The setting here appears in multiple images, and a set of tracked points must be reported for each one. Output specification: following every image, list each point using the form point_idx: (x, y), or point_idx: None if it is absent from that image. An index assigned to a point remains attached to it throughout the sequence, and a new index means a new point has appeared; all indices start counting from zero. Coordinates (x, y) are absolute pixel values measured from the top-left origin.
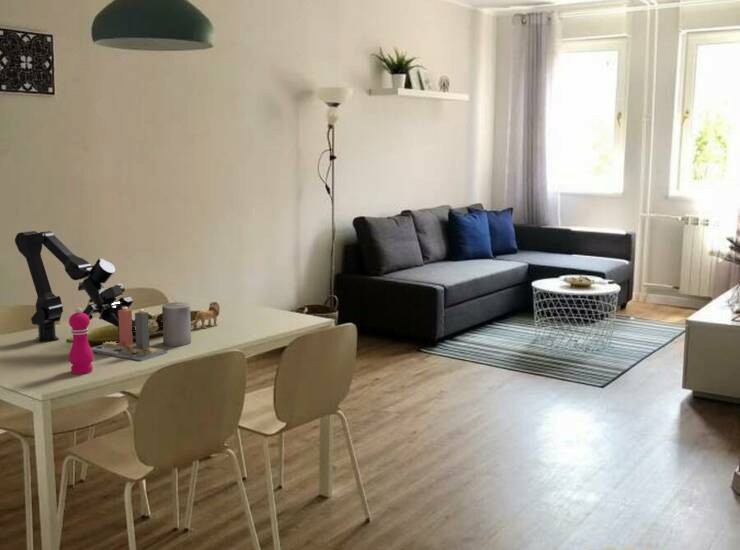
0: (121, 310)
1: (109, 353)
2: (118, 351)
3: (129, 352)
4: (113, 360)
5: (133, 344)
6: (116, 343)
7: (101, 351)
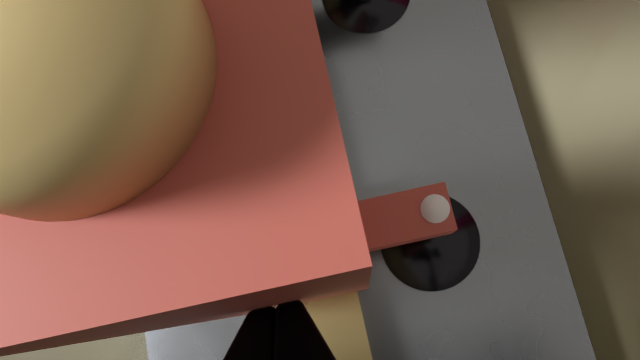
0: (228, 147)
1: (548, 219)
2: (452, 182)
3: (389, 59)
4: (608, 19)
5: (148, 345)
6: (455, 227)
7: (591, 350)
